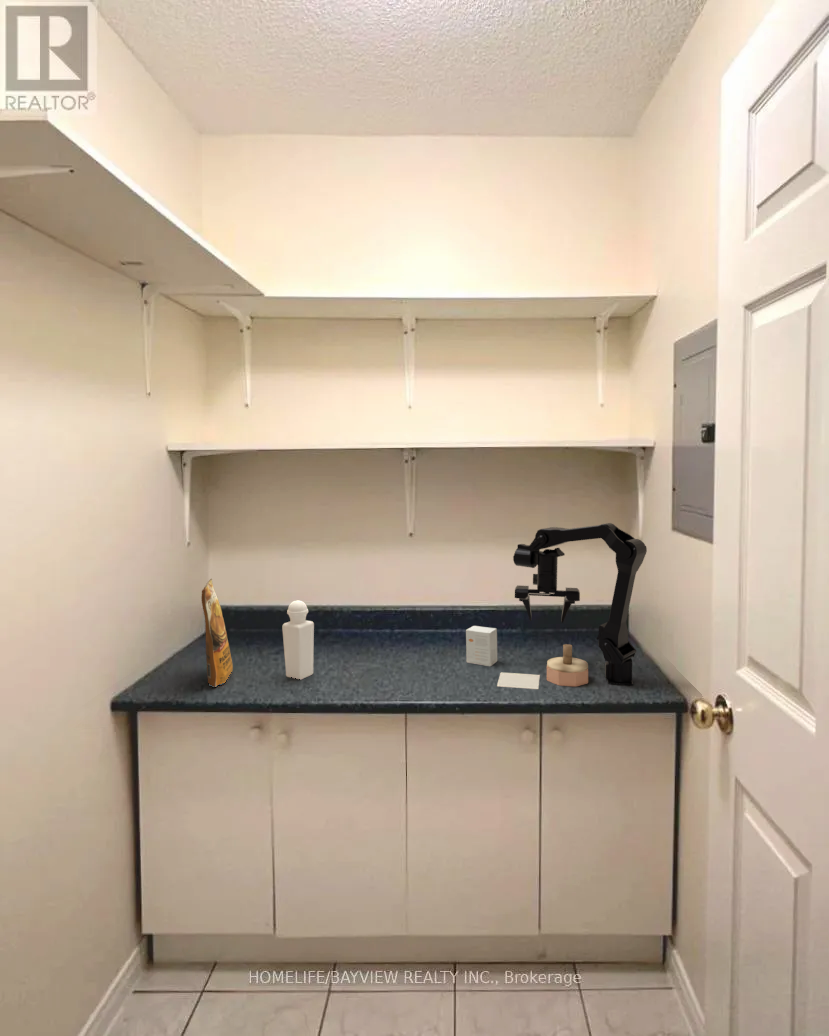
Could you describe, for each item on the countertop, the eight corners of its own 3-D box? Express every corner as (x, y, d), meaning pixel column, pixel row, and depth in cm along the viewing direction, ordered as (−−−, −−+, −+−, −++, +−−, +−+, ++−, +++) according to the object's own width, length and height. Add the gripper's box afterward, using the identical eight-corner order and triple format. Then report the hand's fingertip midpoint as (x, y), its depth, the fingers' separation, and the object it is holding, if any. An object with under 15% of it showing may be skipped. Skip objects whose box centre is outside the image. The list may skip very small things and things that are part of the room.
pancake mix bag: (197, 691, 166) (192, 589, 163) (214, 668, 184) (209, 576, 182) (222, 690, 166) (218, 588, 164) (236, 667, 185) (232, 575, 182)
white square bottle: (300, 680, 172) (298, 604, 170) (283, 676, 176) (280, 601, 174) (315, 673, 178) (313, 599, 176) (298, 670, 181) (296, 597, 179)
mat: (539, 676, 173) (539, 674, 173) (538, 690, 163) (538, 689, 163) (500, 673, 176) (500, 672, 176) (496, 687, 165) (496, 686, 165)
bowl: (586, 674, 174) (587, 660, 174) (588, 688, 164) (588, 674, 163) (547, 672, 177) (547, 658, 176) (546, 685, 166) (546, 671, 166)
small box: (497, 662, 186) (497, 628, 185) (490, 667, 181) (490, 632, 180) (473, 658, 190) (473, 625, 189) (465, 663, 185) (465, 629, 184)
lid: (587, 660, 174) (587, 640, 173) (588, 674, 163) (589, 652, 163) (547, 658, 176) (547, 638, 176) (546, 671, 166) (546, 650, 165)
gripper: (578, 566, 187) (577, 616, 189) (516, 564, 191) (516, 613, 193) (580, 573, 177) (579, 626, 178) (514, 570, 181) (514, 622, 182)
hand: (546, 621), depth 183 cm, fingers open, 9 cm apart
